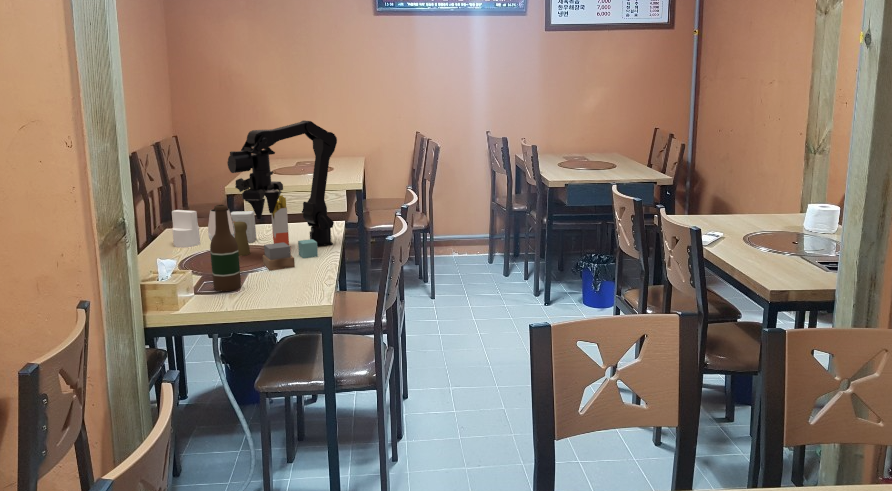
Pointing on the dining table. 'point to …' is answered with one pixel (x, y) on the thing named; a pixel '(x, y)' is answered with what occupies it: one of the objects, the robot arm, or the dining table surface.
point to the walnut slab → (278, 263)
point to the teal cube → (307, 248)
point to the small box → (248, 219)
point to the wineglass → (212, 225)
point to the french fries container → (280, 222)
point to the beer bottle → (224, 254)
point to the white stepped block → (185, 228)
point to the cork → (241, 238)
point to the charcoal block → (277, 251)
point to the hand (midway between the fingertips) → (265, 216)
